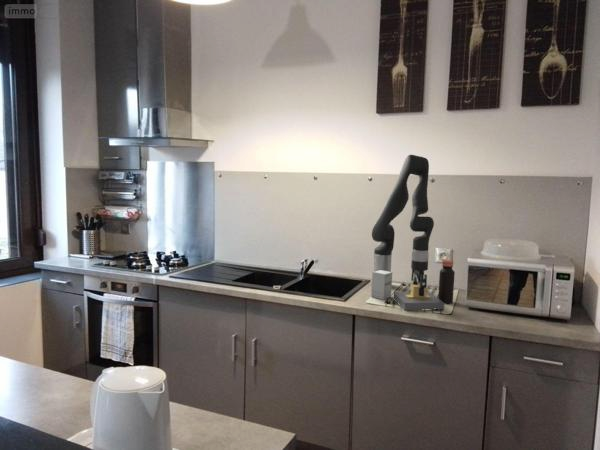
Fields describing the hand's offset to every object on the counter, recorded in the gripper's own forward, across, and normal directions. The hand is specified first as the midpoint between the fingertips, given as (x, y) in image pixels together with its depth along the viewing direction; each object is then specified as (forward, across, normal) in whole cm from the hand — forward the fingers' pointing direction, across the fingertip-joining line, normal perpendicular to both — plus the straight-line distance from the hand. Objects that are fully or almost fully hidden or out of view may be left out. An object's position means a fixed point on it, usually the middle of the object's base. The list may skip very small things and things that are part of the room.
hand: (418, 293), depth 219 cm
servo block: (+5, 0, 0) cm, 5 cm away
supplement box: (+6, +13, +14) cm, 20 cm away
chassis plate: (+5, 0, 0) cm, 5 cm away
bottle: (+6, +4, -15) cm, 16 cm away
